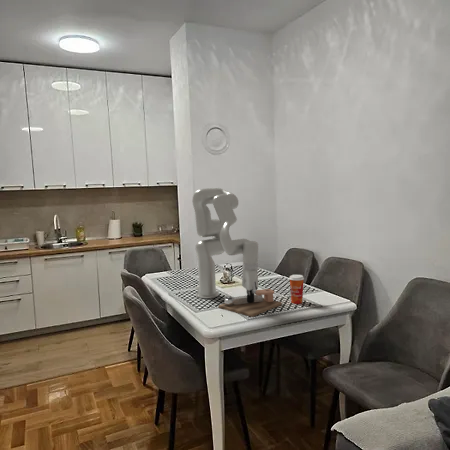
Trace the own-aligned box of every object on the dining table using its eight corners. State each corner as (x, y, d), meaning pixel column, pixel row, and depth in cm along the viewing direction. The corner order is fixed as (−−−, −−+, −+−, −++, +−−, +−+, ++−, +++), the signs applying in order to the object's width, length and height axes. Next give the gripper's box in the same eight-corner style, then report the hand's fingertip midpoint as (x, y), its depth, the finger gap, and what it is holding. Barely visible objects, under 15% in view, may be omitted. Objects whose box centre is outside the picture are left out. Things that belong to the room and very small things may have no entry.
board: (218, 307, 203) (218, 305, 203) (248, 297, 220) (248, 294, 220) (252, 317, 188) (252, 314, 188) (281, 304, 206) (281, 302, 205)
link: (226, 306, 200) (226, 299, 199) (223, 303, 205) (223, 296, 204) (263, 301, 206) (263, 294, 206) (259, 299, 211) (259, 292, 211)
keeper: (257, 305, 204) (257, 293, 204) (253, 302, 210) (253, 290, 209) (274, 303, 207) (274, 291, 206) (269, 300, 213) (269, 288, 212)
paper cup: (286, 303, 208) (286, 276, 206) (293, 299, 214) (292, 273, 212) (301, 305, 203) (300, 278, 202) (306, 301, 210) (306, 275, 208)
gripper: (237, 263, 203) (238, 298, 205) (249, 270, 189) (249, 307, 191) (251, 262, 205) (251, 297, 208) (263, 268, 191) (263, 306, 194)
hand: (250, 302), depth 199 cm, fingers closed
